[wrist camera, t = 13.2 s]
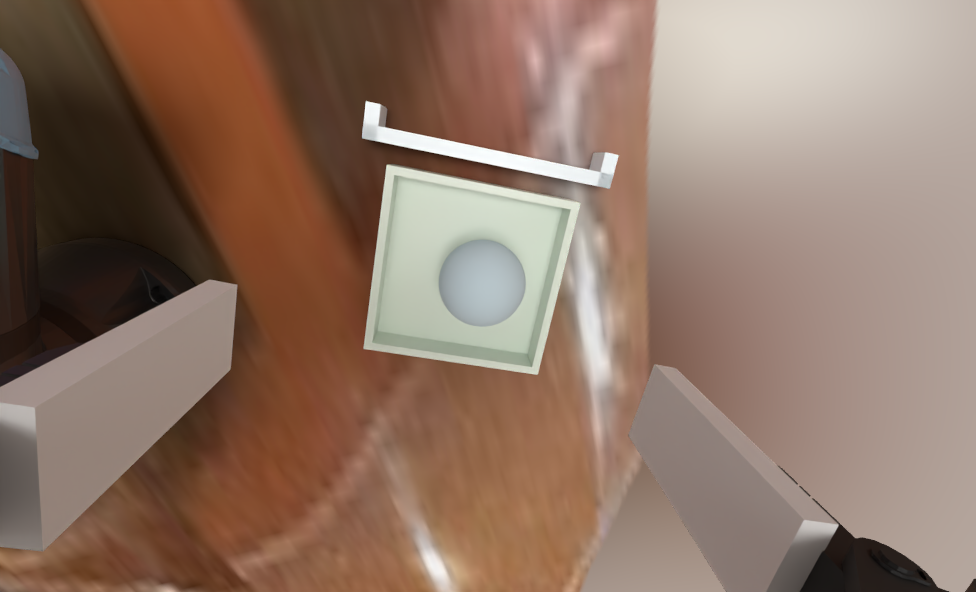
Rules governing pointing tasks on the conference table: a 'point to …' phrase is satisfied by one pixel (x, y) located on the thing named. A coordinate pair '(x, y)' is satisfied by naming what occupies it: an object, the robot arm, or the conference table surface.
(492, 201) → the tray
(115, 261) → the robot arm
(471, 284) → the ball
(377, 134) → the white bar handle
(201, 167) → the conference table surface
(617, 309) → the conference table surface
